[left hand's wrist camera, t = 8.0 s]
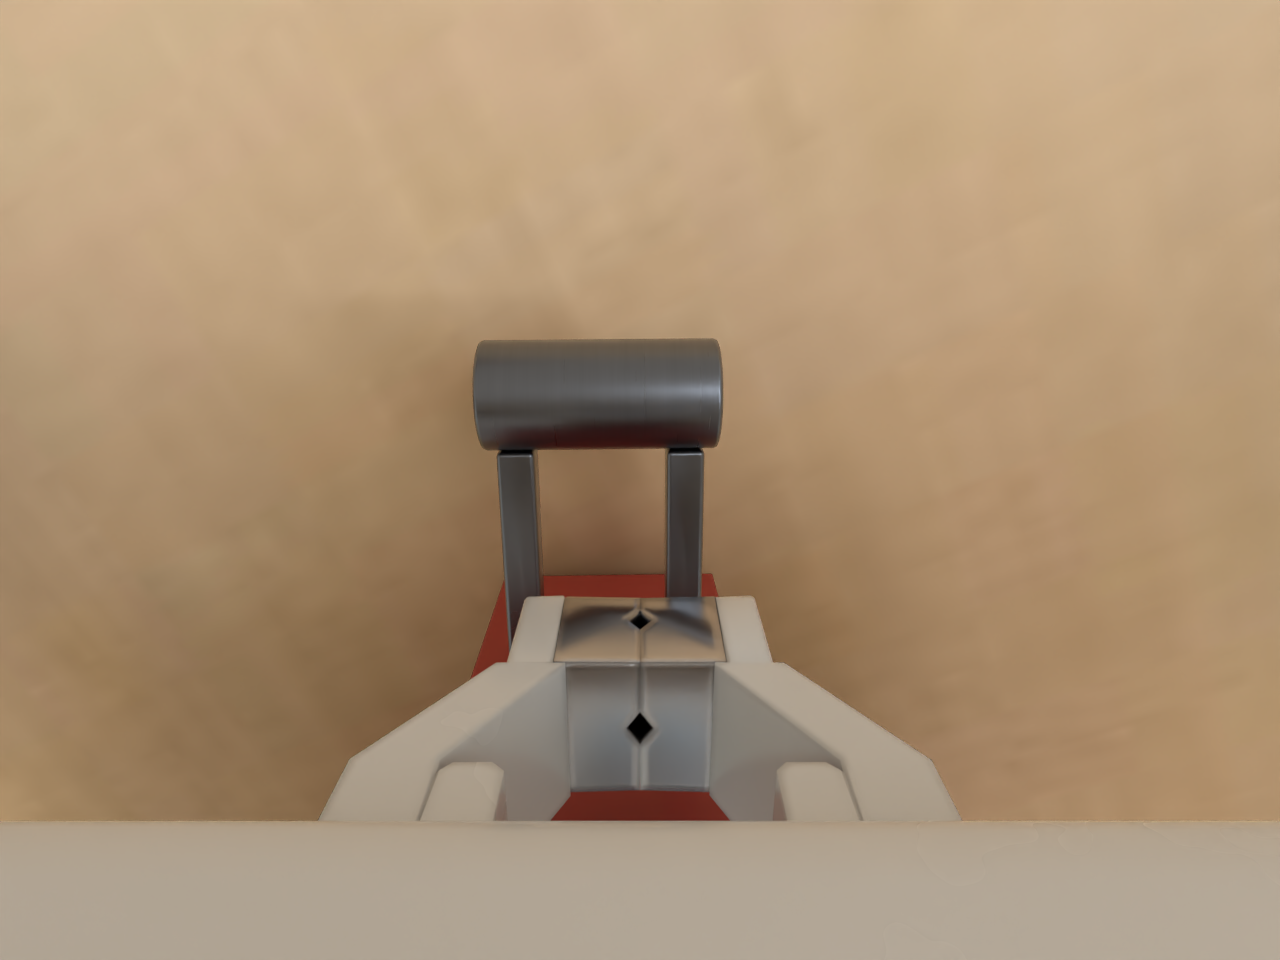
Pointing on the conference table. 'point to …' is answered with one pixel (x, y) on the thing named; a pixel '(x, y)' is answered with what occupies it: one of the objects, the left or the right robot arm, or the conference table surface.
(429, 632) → the conference table surface
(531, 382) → the drawer
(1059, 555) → the conference table surface
